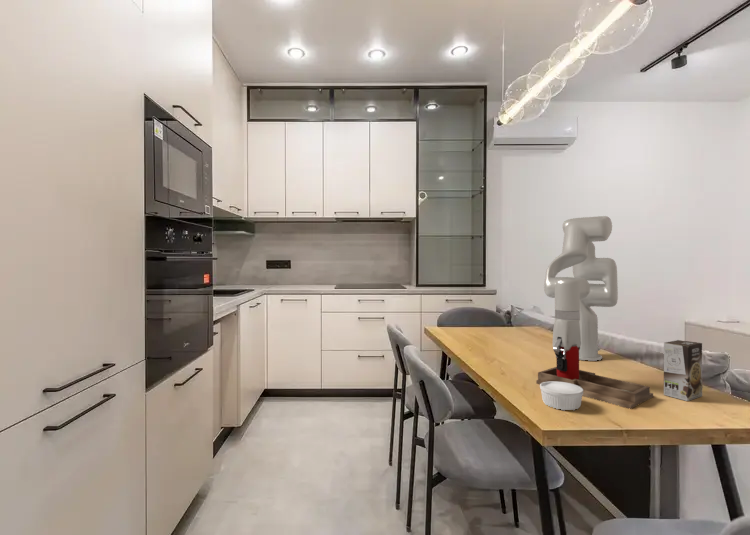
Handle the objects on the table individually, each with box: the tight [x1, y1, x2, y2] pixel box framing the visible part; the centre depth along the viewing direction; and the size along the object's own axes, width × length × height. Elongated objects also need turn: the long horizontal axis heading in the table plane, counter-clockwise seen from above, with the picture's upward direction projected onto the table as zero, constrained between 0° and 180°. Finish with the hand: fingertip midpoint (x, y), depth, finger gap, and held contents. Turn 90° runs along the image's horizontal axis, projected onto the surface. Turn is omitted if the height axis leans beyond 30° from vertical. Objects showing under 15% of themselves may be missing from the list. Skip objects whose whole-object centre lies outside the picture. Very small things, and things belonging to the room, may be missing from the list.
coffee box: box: [663, 339, 703, 402], centre depth 112 cm, size 9×6×16 cm
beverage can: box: [557, 344, 580, 380], centre depth 125 cm, size 7×7×12 cm
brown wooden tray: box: [535, 366, 654, 410], centre depth 118 cm, size 28×16×4 cm, turn 35°
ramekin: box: [539, 381, 583, 411], centre depth 106 cm, size 11×11×5 cm
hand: (567, 368), depth 125 cm, fingers closed on beverage can, 6 cm apart
